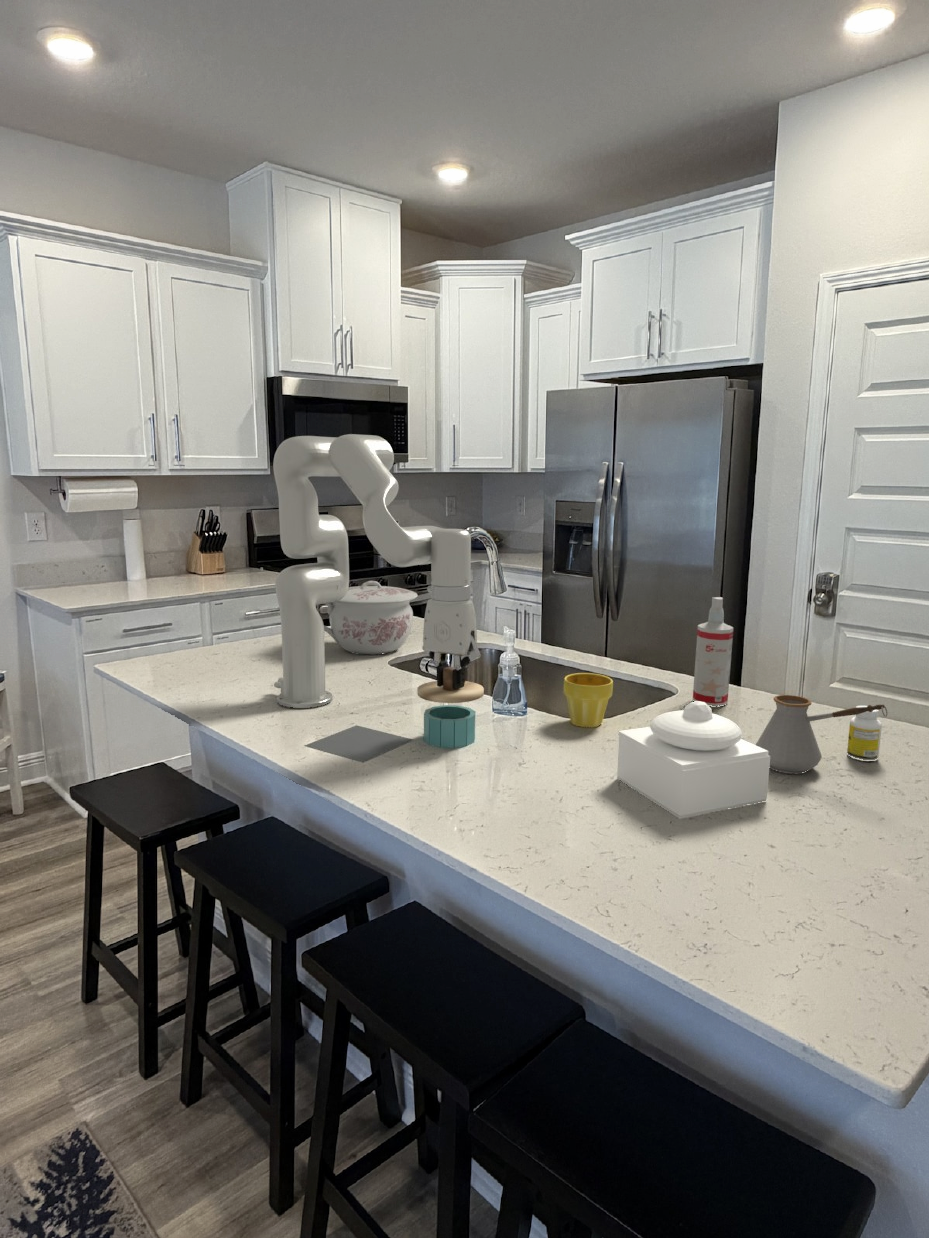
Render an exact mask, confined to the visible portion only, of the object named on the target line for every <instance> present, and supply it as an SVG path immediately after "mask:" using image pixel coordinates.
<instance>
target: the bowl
mask: <svg viewBox="0 0 929 1238" xmlns="http://www.w3.org/2000/svg"><path fill="white" fill-rule="evenodd" d="M475 740H476V711H475V710H474V709H473V708H470V707H467V706H463V705H457V704H456V705H455V704H454V705H452V704H451V705H450V704H446V705H445V704H443V705H437V706H436V705H435V706H432V707H429V708H426V709H425V710H424V712H423V741H424V742H425V743H426V744H427V745H429V746H432V747H436V748H441V749H457V748H465V747H469V746H470V745H472V744H474V743H475V742H476V741H475Z"/></svg>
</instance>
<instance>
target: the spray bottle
mask: <svg viewBox="0 0 929 1238" xmlns="http://www.w3.org/2000/svg"><path fill="white" fill-rule="evenodd" d="M723 600H724V598H723V597H721V596H716V597H714V596H712V597H711V607H710V609H709V611H708V619H707V621H706V622H703V623H700V624H698V625H697V633H696V646H695V647H696V648H695V660H694V661H695V662H694V674H693V677H694V678H693V689H692V701H693V700H694V701H701V702H705V703H706V704H707V705H712V706H718V705H719V706H720V705H725V704H727V705H728V704H729V703H728V700H729V689H730V688H729V687H730V678H731V677H730V675H731V662H732V652H733V650H732V649H733V641H734V640H733V639H734V638H733V637H734V627H733V626H731V625H728V624H727V623H725V622H724V619H725V612H724V608H723V604H724V603H723Z"/></svg>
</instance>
